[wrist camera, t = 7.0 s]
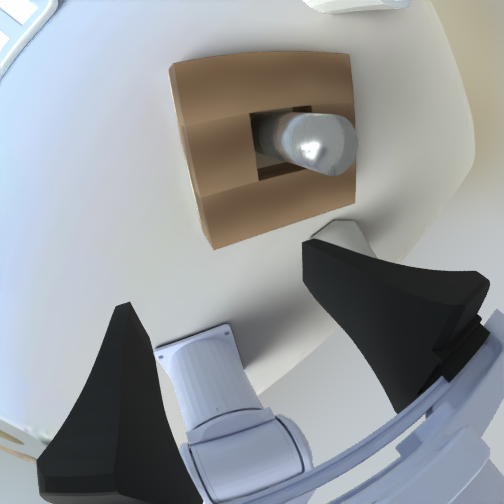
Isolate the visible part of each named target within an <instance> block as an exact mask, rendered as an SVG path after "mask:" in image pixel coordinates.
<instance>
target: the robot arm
mask: <svg viewBox="0 0 504 504" xmlns="http://www.w3.org/2000/svg"><path fill="white" fill-rule="evenodd" d="M302 263H303V282H304V283H305V285H306V286H307V288H308V289H309V291H310V292H311V294H312V295H313V296H314V298H315V299H316V300H317V301H318V302H319V304H320V305H321V306H322V307H323V308H324V309H325V310H326V311H327V312H328V313H329V314H330V315H331V317H332V318H333V319H334V320H335V321H336V322H337V323H338V324H339V325H340V326H341V327H342V328H343V330H345V332H346V333H347V334H348V335H349V336H350V338H351V339H352V340H353V342H354V343H355V344H356V346H357V347H358V349H359V350H360V351H361V353H362V354H363V355H364V357H365V359H366V360H367V362H368V363H369V365H370V366H371V368H372V369H373V371H374V373H375V374H376V376H377V378H378V379H379V381H380V383H381V385H382V386H383V388H384V390H385V392H386V394H387V396H388V398H389V400H390V402H391V404H392V406H393V408H394V410H395V412H396V413H397V414H398V415H396V416H395V417H394V418H393V419H391V420H390V421H389V422H387V423H386V424H385V425H383V426H382V427H380V428H379V429H378V430H376V431H375V432H373V433H372V434H370V435H369V436H367V437H366V438H364V439H363V440H361V441H360V442H359V443H357V444H355V445H354V446H352V447H350V448H349V449H347V450H346V451H344V452H342V453H340V454H339V455H337V456H335V457H334V458H332V459H330V460H328V461H326V462H324V463H323V464H321V465H319V466H317V467H315V468H314V466H313V463H312V453H311V450H310V447H309V444H308V442H307V440H306V438H305V436H304V434H303V433H302V431H301V429H300V428H299V427H298V425H297V424H296V423H295V422H294V421H293V420H291V419H290V418H288V417H285V416H284V415H282V414H278V415H276V416H274V414H273V412H272V411H271V409H270V408H269V407H268V408H266V409H264V408H263V406H262V404H261V402H260V401H259V399H258V397H257V395H256V393H255V391H254V389H253V387H252V385H251V383H250V381H249V380H248V378H247V376H246V374H245V372H244V369H243V366H242V363H241V360H240V356H239V353H238V350H237V347H236V344H235V340H234V337H233V334H232V330H231V327H230V326H229V325H228V324H224V325H221V326H218V327H216V328H213V329H211V330H208V331H205V332H202V333H200V334H197V335H194V336H191V337H189V338H186V339H183V340H180V341H177V342H175V343H172V344H169V345H166V346H163V347H160V348H157V349H155V350H154V353H153V349H152V345H151V342H150V338H149V336H148V334H147V332H146V330H145V329H144V327H143V325H142V323H141V322H140V320H139V318H138V316H137V314H136V312H135V310H134V308H133V307H132V305H131V303H130V302H127V303H124V304H121V305H118V306H116V307H115V309H114V312H113V315H112V317H111V320H110V323H109V326H108V328H107V331H106V334H105V337H104V340H103V342H102V345H101V348H100V350H99V353H98V356H97V358H96V361H95V363H94V366H93V368H92V371H91V373H90V375H89V377H88V380H87V382H86V384H85V386H84V388H83V390H82V392H81V394H80V396H79V398H78V399H77V401H76V403H75V405H74V407H73V408H72V410H71V412H70V414H69V415H68V417H67V419H66V420H65V422H64V423H63V425H62V427H61V428H60V430H59V431H58V433H57V434H56V436H55V437H54V438H53V440H52V441H51V442H50V444H49V445H48V446H47V448H46V449H45V450H44V451H43V453H42V454H41V455H40V457H39V458H38V459H37V474H38V485H39V493H40V496H41V497H42V498H43V499H44V500H46V501H48V502H50V503H53V504H307V502H308V501H309V499H310V498H311V496H312V495H313V493H314V492H315V490H316V488H318V487H320V486H322V485H324V484H326V483H327V482H330V481H331V480H333V479H335V478H337V477H339V476H340V475H342V474H344V473H345V472H347V471H349V470H350V469H352V468H354V467H355V466H357V465H358V464H360V463H362V462H363V461H365V460H366V459H368V458H369V457H371V456H372V455H374V454H375V453H376V452H378V451H379V450H380V449H382V448H383V447H385V446H386V445H387V444H389V443H390V442H392V441H393V440H394V439H395V438H397V437H398V436H399V435H401V434H402V433H403V432H404V431H405V430H407V429H408V428H409V427H410V426H412V425H413V424H414V423H415V422H416V421H417V420H419V419H420V418H421V417H422V416H423V415H424V414H425V413H426V412H427V413H426V420H425V421H424V422H423V423H422V424H421V425H420V426H418V427H417V428H416V429H415V430H414V431H413V432H412V433H411V434H410V435H409V436H408V437H406V438H405V439H404V440H403V441H402V442H401V443H399V444H398V445H397V446H396V450H397V451H398V452H399V453H400V455H401V456H400V457H399V458H398V459H396V460H395V461H394V462H392V463H391V464H390V465H388V466H387V467H386V468H384V469H383V470H381V471H380V472H378V473H377V474H376V475H374V476H373V477H371V478H370V479H368V480H366V481H365V482H363V483H362V484H360V485H358V486H357V487H355V488H354V489H352V490H350V491H348V492H347V493H345V494H343V495H342V496H340V497H338V498H336V499H334V500H332V501H331V502H329V503H327V504H504V476H503V475H502V474H501V473H500V471H499V470H498V469H497V468H496V467H495V465H494V464H493V463H492V462H491V461H490V459H489V456H490V448H489V447H488V445H487V444H486V443H485V442H484V441H483V440H482V439H481V437H482V435H483V433H484V432H485V430H486V429H487V427H488V425H489V424H490V422H491V420H492V418H493V416H494V415H495V413H496V411H497V409H498V408H499V405H500V404H501V402H502V400H503V398H504V314H503V313H501V312H500V311H499V310H498V309H496V310H495V311H494V313H493V314H492V315H491V317H490V318H489V319H488V321H487V322H486V324H485V325H484V326H483V325H481V324H480V322H481V320H482V318H481V317H480V316H479V315H478V314H477V313H478V311H479V309H480V307H481V305H482V303H483V301H484V299H485V297H486V295H487V292H488V290H489V287H490V281H489V280H488V279H487V278H486V277H484V276H483V275H481V274H480V273H478V272H477V271H440V270H429V269H422V268H415V267H410V266H405V265H400V264H396V263H391V262H387V261H384V260H380V259H377V258H373V257H370V256H367V255H364V254H361V253H358V252H355V251H352V250H349V249H346V248H344V247H341V246H338V245H335V244H332V243H329V242H326V241H323V240H320V239H316V238H313V239H310V240H307V241H305V242H302ZM227 331H228V332H227ZM154 355H155V357H156V358H157V360H158V361H159V363H160V364H161V366H162V367H163V369H164V370H165V371H166V373H167V374H168V376H169V377H170V378H171V380H172V382H173V386H174V390H175V393H176V397H177V400H178V403H179V407H180V410H181V413H182V416H183V419H184V423H185V426H186V429H187V432H186V435H187V438H188V441H189V444H190V445H189V444H188V443H183V444H181V448H180V449H179V450H178V447H177V445H176V442H175V440H174V437H173V435H172V432H171V429H170V426H169V423H168V420H167V417H166V414H165V410H164V406H163V401H162V395H161V390H160V385H159V379H158V373H157V367H156V361H155V357H154ZM161 355H162V356H161Z"/></svg>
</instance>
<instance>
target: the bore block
mask: <svg viewBox="0 0 504 504" xmlns="http://www.w3.org/2000/svg"><path fill="white" fill-rule="evenodd" d="M167 72H168V77H169V83H170V88H171V93H172V99H173V104H174V109H175V114H176V119H177V123H178V128H179V133H180V138H181V142H182V147H183V151H184V156H185V160H186V165H187V169H188V173H189V178H190V182H191V186H192V190H193V194H194V198H195V203H196V207H197V211H198V215H199V219H200V222H201V226H202V230H203V233H204V234H205V236H206V238H207V240H208V241H209V243H210V245H211V247H212V248H213V250H216V249H219V248H222V247H225V246H228V245H231V244H234V243H237V242H240V241H243V240H245V239H248V238H251V237H254V236H257V235H260V234H263V233H266V232H269V231H272V230H275V229H278V228H281V227H284V226H287V225H290V224H293V223H296V222H299V221H302V220H305V219H308V218H311V217H314V216H317V215H320V214H323V213H326V212H329V211H332V210H335V209H339V208H342V207H345V206H348V205H351V204H354V203H355V192H356V155H355V158H354V161H353V162H352V164H351V166H350V167H349V168H348V169H347V170H346V171H345V172H343V173H342V174H340V175H336V176H329V175H325V174H323V173H320V172H317V171H314V170H311V169H308V168H304V167H301V166H298V165H295V164H292V163H288V162H285V161H282V160H278V159H275V158H272V157H268V156H265V155H261V154H259V153H257V152H256V151H255V150H254V143H253V136H252V129H251V121H252V120H253V119H254V118H255V117H256V116H257V115H259V114H261V113H264V112H299V113H319V114H333V115H340V116H343V117H345V118H346V119H347V120H348V121H349V122H350V123H351V124H352V126H353V127H354V129H355V114H354V98H353V86H352V75H351V66H350V57H349V54H340V53H327V52H307V51H272V52H252V53H239V54H229V55H221V56H213V57H206V58H200V59H194V60H188V61H183V62H178V63H173V64H172V66H171V67H170V68H169V69H168V71H167Z"/></svg>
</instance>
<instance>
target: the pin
mask: <svg viewBox="0 0 504 504" xmlns="http://www.w3.org/2000/svg"><path fill="white" fill-rule="evenodd" d="M251 129H252V136H253V143H254V150H255V151H256V152H257V153H259V154H261V155H265V156H268V157H272V158H275V159H278V160H282V161H285V162H288V163H292V164H295V165H298V166H301V167H304V168H308V169H311V170H314V171H317V172H320V173H323V174H325V175H329V176H336V175H340V174H342V173H343V172H345V171H346V170H347V169H348V168H349V167H350V166H351V164H352V162H353V161H354V158H355V155H356V152H357V136H356V132H355V129H354V127H353V126H352V124H351V123H350V122H349V121H348V120H347V119H346V118H345V117H343V116H340V115H333V114H319V113H299V112H264V113H261V114H259V115H257V116H256V117H255V118H254V119H253V120H252V121H251Z"/></svg>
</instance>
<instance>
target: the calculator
mask: <svg viewBox="0 0 504 504" xmlns="http://www.w3.org/2000/svg"><path fill="white" fill-rule="evenodd" d="M57 7H58V0H0V79H1V78H2V76H3V75H4V73H5V72H6V71H7V69H8V68H9V66H10V65H11V64H12V62H13V61H14V60H15V58H16V57H17V56H18V55H19V53H20V52H21V51H22V50H23V48H24V47H25V46H26V45H27V43H28V42H29V41H30V40H31V39H32V38H33V36H34V35H35V34H36V33H37V32H38V31H39V30H40V29H41V28H42V26H43V25H44V24H45V23H46V22H47V21H48V20H49V19H50V18H51V16H52V15H53V14H54V13H55V11H56V9H57Z"/></svg>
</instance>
